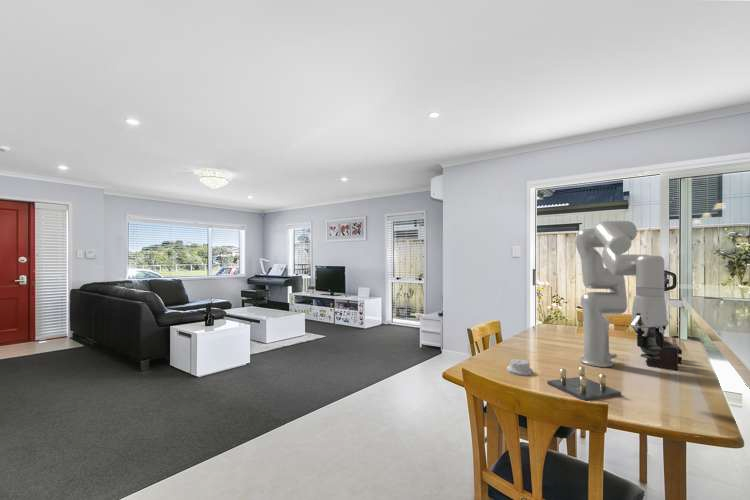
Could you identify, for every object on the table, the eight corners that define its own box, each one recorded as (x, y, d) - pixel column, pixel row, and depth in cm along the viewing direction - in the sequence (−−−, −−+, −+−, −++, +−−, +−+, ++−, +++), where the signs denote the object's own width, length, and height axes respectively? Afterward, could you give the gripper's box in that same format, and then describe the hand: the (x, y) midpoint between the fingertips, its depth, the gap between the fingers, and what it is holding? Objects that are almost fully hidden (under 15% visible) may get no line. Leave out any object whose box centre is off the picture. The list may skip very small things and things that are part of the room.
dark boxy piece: (646, 360, 161) (646, 321, 161) (678, 365, 154) (677, 324, 154) (643, 368, 150) (642, 326, 150) (677, 374, 142) (676, 329, 142)
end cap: (658, 356, 167) (658, 342, 168) (678, 359, 164) (677, 344, 164) (661, 362, 159) (661, 346, 159) (682, 364, 155) (682, 349, 155)
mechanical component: (509, 375, 142) (535, 376, 140) (508, 364, 142) (535, 365, 140) (505, 367, 152) (529, 369, 150) (505, 357, 152) (529, 358, 150)
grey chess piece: (657, 355, 119) (656, 319, 119) (664, 360, 114) (664, 323, 114) (636, 353, 121) (636, 318, 121) (643, 358, 116) (642, 322, 116)
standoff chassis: (581, 379, 136) (581, 363, 136) (620, 395, 121) (620, 377, 121) (547, 384, 132) (547, 367, 132) (583, 400, 116) (583, 381, 116)
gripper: (657, 290, 123) (657, 341, 123) (619, 292, 119) (619, 345, 119) (681, 292, 116) (681, 347, 116) (641, 295, 111) (641, 352, 111)
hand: (650, 346), depth 117 cm, fingers closed on grey chess piece, 5 cm apart
